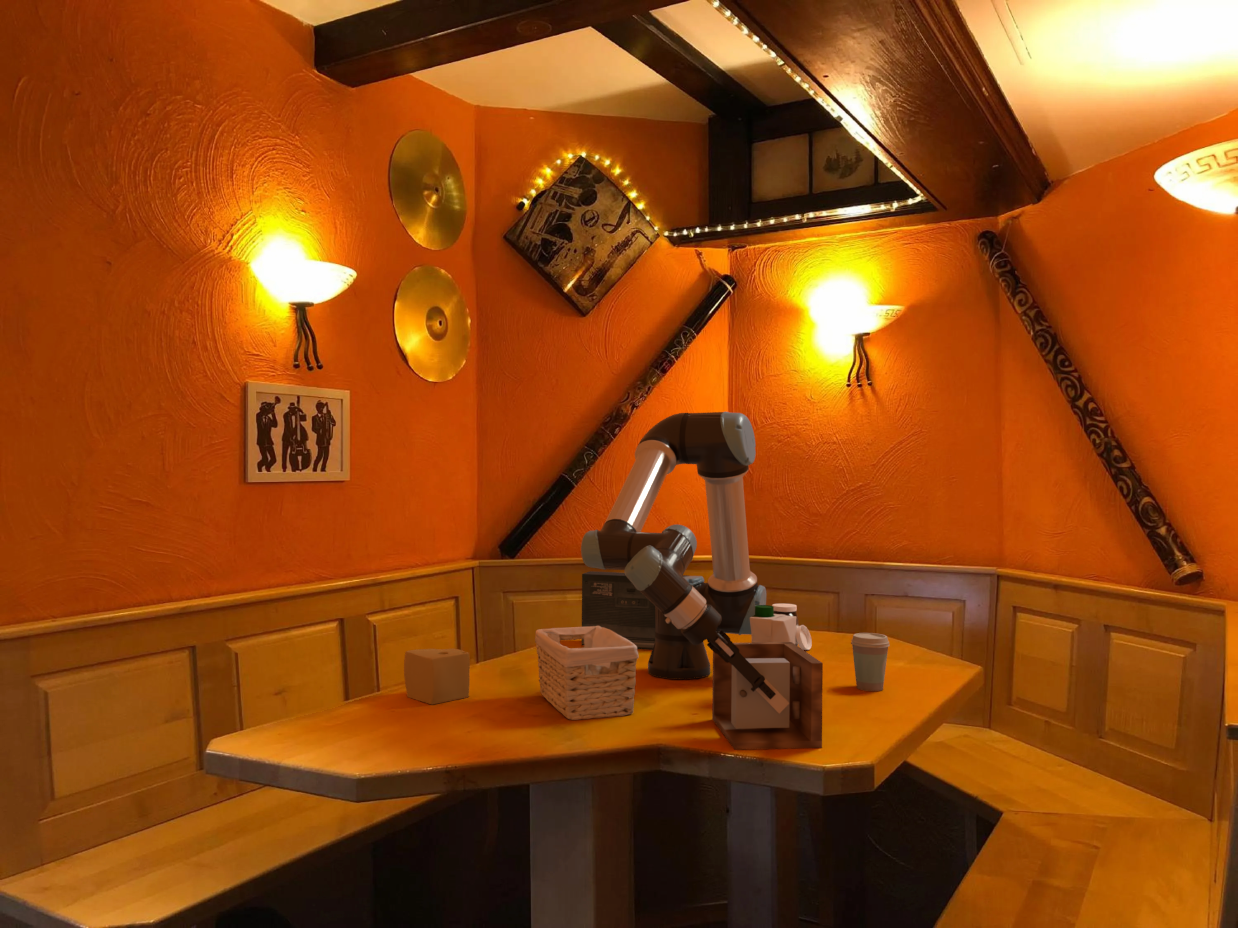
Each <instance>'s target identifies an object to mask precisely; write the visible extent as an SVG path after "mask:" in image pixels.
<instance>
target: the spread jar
mask: <svg viewBox="0 0 1238 928" xmlns="http://www.w3.org/2000/svg"><path fill="white" fill-rule="evenodd" d="M771 606H773V607H774V614H783V615H786V616H796V635H795V645H796V646H798V647H799V648H801V649H802V650H805V651H809V650H811V648H812V644H813V643H812V636H811V633H810V630H809V629H808V627H807V626H806V625H804V624H801V625H799V616H798V613H797V610H798V609H797V607H798V605H797V604H794V603H773V604H772V605H771Z"/></svg>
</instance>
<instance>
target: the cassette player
mask: <svg viewBox="0 0 1238 928" xmlns="http://www.w3.org/2000/svg"><path fill="white" fill-rule="evenodd" d="M686 576H688V575H687V574H686V575H685V574H683V577H686ZM591 626H600V627H604V628H607V629H610V630H611V631H613V632H615V633H617V634H618V635H620V636H622V637H624V638H626V639H628V640H629V641H631V642H632V643H634V644H635V645H636V646H637V650H644V651H645V650H647V651H652V649H653V646H654V643H655V605H654V604H653V603H652V602H651V601H650V600H649V599H647V598H646V597H645V596H644V595H643V594H642V593H641V592H640V591H639V590H637V589H636V588H635V586H634V585H633V583H632V582H631V581H630V580H629V579H628V578H627V576H626V575H625V572H615V571H587V572H584V573H581V627H591ZM581 646H584V639H581Z"/></svg>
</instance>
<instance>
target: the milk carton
mask: <svg viewBox="0 0 1238 928" xmlns="http://www.w3.org/2000/svg"><path fill="white" fill-rule="evenodd" d="M750 626H751V634H752V635H751V643H762V642H792V643H794V644H795V635H796V616H786V615H783V614H774V607H773V606H772V605H770V604H769V605H767V604H766V605H757V606H755V615H754V616H752V617H750Z"/></svg>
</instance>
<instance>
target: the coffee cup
mask: <svg viewBox="0 0 1238 928" xmlns="http://www.w3.org/2000/svg"><path fill="white" fill-rule="evenodd" d="M850 641H851V642H850V645H852V646H851V647H852V656H853V664H854V665H853V666H854V675H855V684H856V689H858V690H860V691H865V692H881V691H883V690H884V683H885V676H886V669H887V668H886V667H887V658H888V650H889V647H890V641H889V639H888V636H887V635H885V634H882V633H875V632H874V633H873V632H859V633H854V634H853V636H852V639H851V640H850Z"/></svg>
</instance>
